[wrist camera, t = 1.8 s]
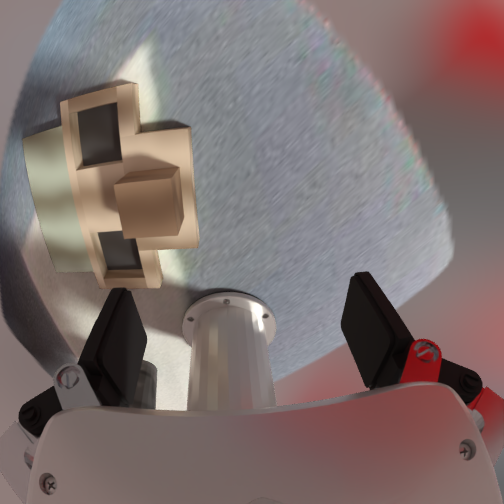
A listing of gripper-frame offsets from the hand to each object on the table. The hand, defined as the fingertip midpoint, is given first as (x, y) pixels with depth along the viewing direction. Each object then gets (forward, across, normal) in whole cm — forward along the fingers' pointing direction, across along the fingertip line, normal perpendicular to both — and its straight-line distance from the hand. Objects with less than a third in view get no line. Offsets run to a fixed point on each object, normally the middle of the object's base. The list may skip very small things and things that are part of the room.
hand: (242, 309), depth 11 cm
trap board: (+18, +13, 0) cm, 23 cm away
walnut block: (+16, +7, 0) cm, 18 cm away
